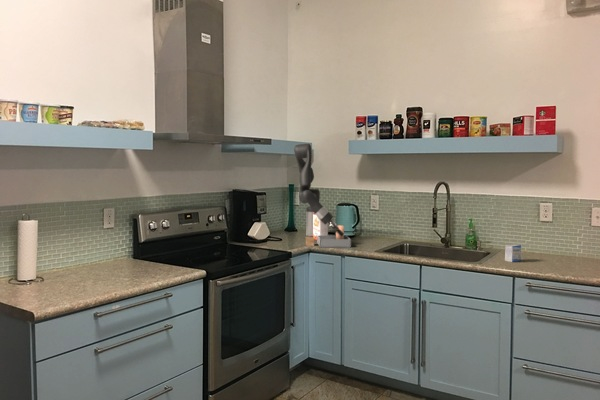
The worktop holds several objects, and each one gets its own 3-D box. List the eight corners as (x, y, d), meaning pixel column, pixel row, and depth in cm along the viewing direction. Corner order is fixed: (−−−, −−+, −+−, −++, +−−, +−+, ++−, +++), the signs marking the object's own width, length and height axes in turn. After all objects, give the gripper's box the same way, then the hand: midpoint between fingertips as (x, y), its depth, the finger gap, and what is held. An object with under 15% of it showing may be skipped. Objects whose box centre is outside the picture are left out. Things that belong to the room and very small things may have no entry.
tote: (316, 243, 327) (317, 235, 326) (346, 242, 328) (346, 235, 328) (320, 247, 309) (320, 239, 309) (350, 247, 311) (351, 239, 311)
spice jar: (335, 240, 321) (335, 225, 320) (343, 240, 321) (343, 225, 321) (336, 241, 316) (336, 226, 315) (344, 241, 316) (344, 226, 316)
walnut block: (305, 244, 321) (305, 236, 320) (313, 244, 321) (313, 236, 321) (306, 246, 316) (306, 238, 316) (314, 246, 316) (314, 238, 316)
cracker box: (312, 239, 344) (312, 208, 342) (320, 238, 346) (320, 208, 344) (319, 242, 330) (319, 210, 329) (328, 241, 332) (328, 210, 331)
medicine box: (511, 262, 268) (512, 246, 267) (504, 261, 272) (505, 245, 271) (521, 260, 272) (521, 245, 272) (513, 259, 276) (514, 243, 275)
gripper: (327, 212, 311) (347, 232, 311) (328, 210, 325) (347, 229, 325) (319, 220, 312) (338, 240, 312) (320, 218, 326) (338, 237, 326)
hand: (342, 234), depth 318 cm, fingers closed on spice jar, 5 cm apart
